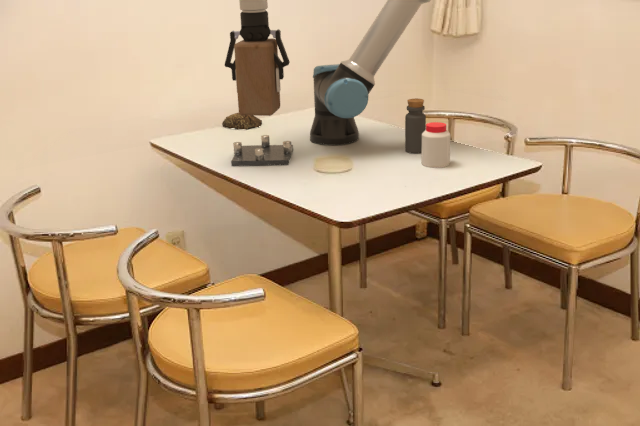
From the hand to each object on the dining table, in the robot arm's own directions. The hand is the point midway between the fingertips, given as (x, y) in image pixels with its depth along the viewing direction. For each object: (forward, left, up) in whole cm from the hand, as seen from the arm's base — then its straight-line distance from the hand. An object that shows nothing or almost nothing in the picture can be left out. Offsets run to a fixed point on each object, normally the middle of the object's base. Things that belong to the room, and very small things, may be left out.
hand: (258, 91), depth 219 cm
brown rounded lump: (+11, -40, -20) cm, 46 cm away
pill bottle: (-49, +9, -20) cm, 53 cm away
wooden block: (0, 0, -6) cm, 6 cm away
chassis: (0, 0, -19) cm, 19 cm away
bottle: (-44, -4, -19) cm, 48 cm away
